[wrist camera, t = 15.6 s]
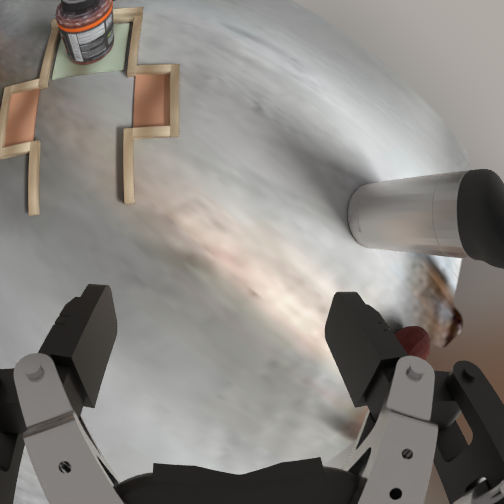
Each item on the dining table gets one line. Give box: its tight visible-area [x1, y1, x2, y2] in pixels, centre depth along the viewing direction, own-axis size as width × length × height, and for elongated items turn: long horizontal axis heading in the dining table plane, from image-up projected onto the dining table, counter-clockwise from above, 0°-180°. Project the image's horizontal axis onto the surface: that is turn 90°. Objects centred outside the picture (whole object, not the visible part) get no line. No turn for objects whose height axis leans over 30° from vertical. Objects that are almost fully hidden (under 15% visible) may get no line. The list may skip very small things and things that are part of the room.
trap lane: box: [0, 7, 179, 216], centre depth 25 cm, size 22×25×2 cm
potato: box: [394, 326, 430, 360], centre depth 41 cm, size 7×8×7 cm
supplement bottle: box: [56, 0, 114, 65], centre depth 19 cm, size 6×6×11 cm
